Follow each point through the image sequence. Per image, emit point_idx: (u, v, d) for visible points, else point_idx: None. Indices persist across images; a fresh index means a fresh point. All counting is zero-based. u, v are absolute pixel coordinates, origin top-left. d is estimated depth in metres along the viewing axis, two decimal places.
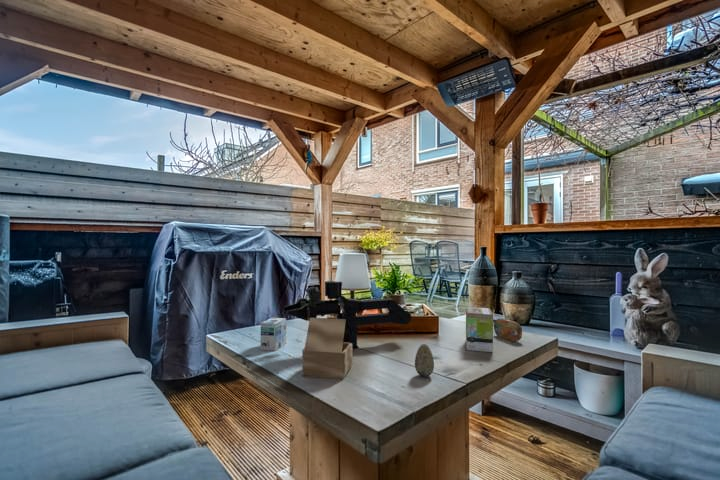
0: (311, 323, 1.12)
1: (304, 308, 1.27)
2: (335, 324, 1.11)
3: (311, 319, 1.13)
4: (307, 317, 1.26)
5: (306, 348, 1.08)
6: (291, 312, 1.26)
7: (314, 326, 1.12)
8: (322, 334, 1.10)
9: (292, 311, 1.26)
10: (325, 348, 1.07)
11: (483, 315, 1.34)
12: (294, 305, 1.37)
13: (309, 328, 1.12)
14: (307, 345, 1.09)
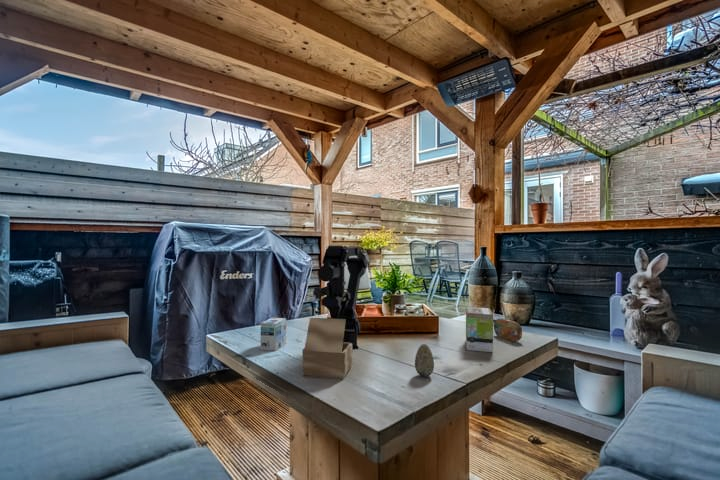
0: (311, 323, 1.12)
1: (328, 307, 1.23)
2: (335, 324, 1.11)
3: (311, 319, 1.13)
4: (335, 306, 1.21)
5: (306, 348, 1.08)
6: None
7: (314, 326, 1.12)
8: (322, 334, 1.10)
9: (332, 318, 1.24)
10: (325, 348, 1.07)
11: (483, 315, 1.34)
12: None
13: (309, 328, 1.12)
14: (307, 345, 1.09)
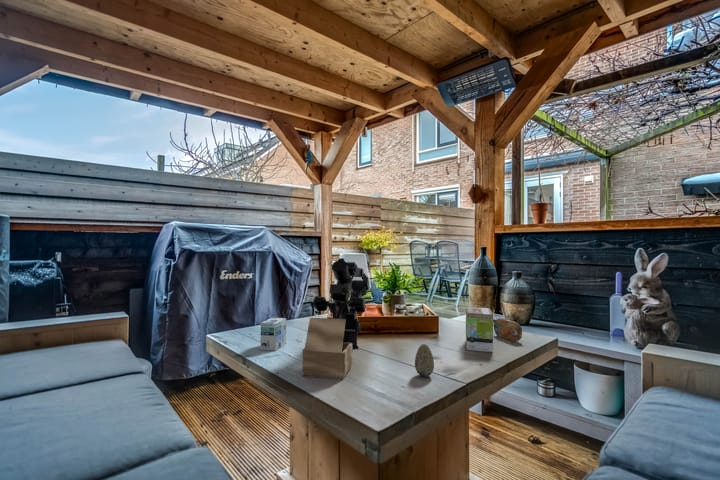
0: (311, 323, 1.12)
1: (343, 307, 1.24)
2: (335, 324, 1.11)
3: (311, 319, 1.13)
4: (349, 310, 1.26)
5: (306, 348, 1.08)
6: None
7: (314, 326, 1.12)
8: (322, 334, 1.10)
9: None
10: (325, 348, 1.07)
11: (483, 315, 1.34)
12: (335, 312, 1.24)
13: (309, 328, 1.12)
14: (307, 345, 1.09)
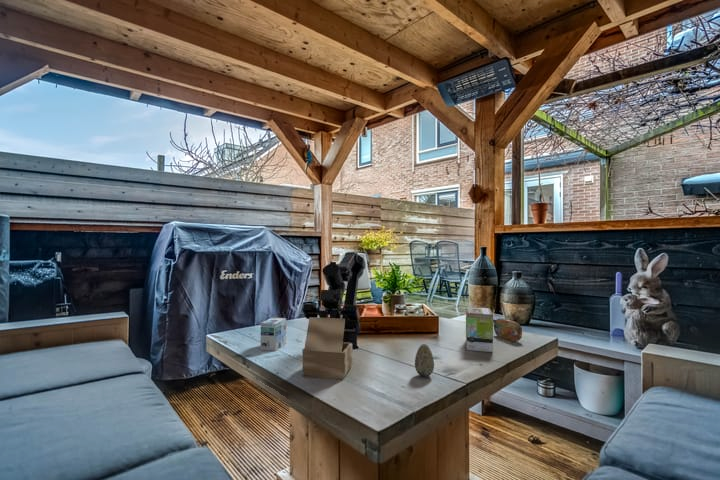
0: (310, 322, 1.12)
1: (335, 316, 1.13)
2: (334, 324, 1.10)
3: (310, 319, 1.13)
4: None
5: (306, 348, 1.08)
6: None
7: (314, 326, 1.11)
8: (322, 334, 1.10)
9: None
10: (325, 348, 1.07)
11: (483, 315, 1.34)
12: None
13: (308, 328, 1.11)
14: (307, 346, 1.09)
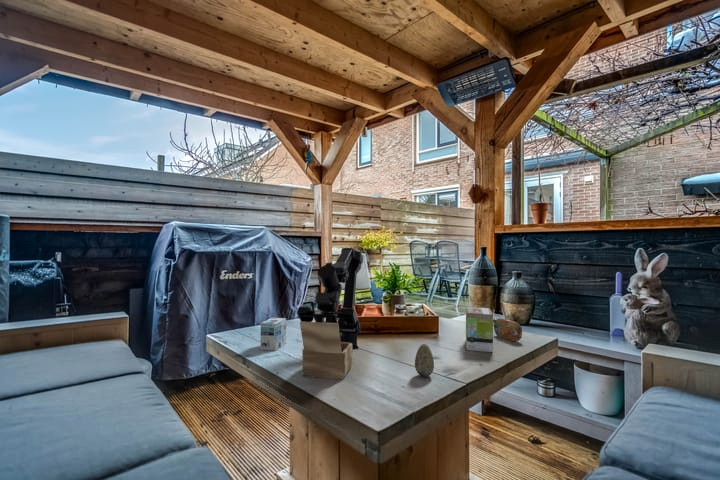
0: (303, 327, 1.05)
1: (331, 319, 1.08)
2: (328, 329, 1.04)
3: (301, 324, 1.05)
4: (337, 322, 1.11)
5: (305, 349, 1.08)
6: None
7: (307, 330, 1.05)
8: (317, 338, 1.05)
9: None
10: (324, 349, 1.06)
11: (483, 315, 1.34)
12: None
13: (302, 332, 1.06)
14: (306, 347, 1.08)
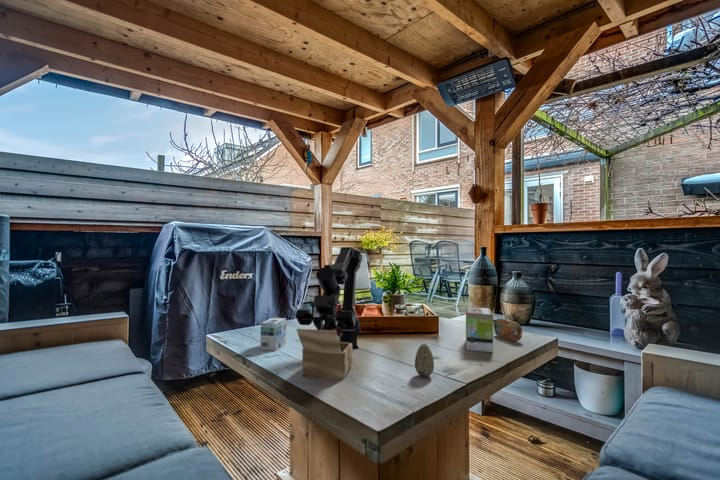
0: (300, 333, 1.03)
1: (329, 322, 1.07)
2: (326, 335, 1.01)
3: (298, 331, 1.02)
4: (336, 325, 1.10)
5: (305, 350, 1.08)
6: None
7: (305, 336, 1.03)
8: (316, 342, 1.04)
9: None
10: (324, 350, 1.06)
11: (483, 315, 1.34)
12: (320, 327, 1.07)
13: (300, 337, 1.04)
14: (305, 349, 1.07)
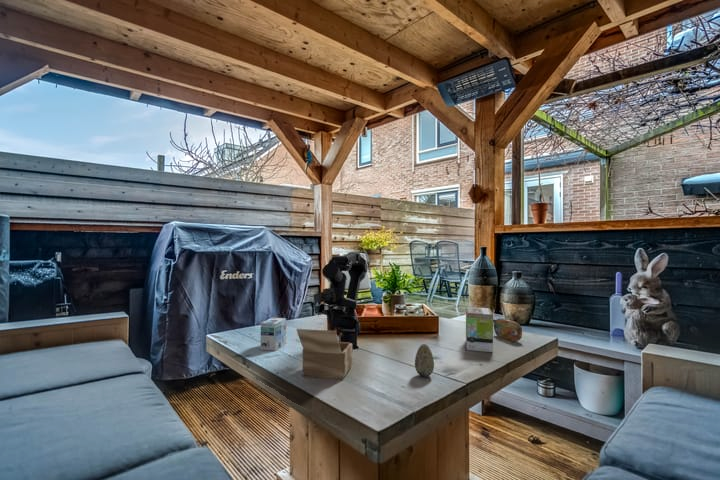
0: (300, 333, 1.03)
1: (334, 312, 1.20)
2: (326, 335, 1.01)
3: (298, 331, 1.02)
4: (343, 311, 1.21)
5: (305, 350, 1.08)
6: (333, 326, 1.20)
7: (305, 336, 1.03)
8: (316, 342, 1.04)
9: (332, 325, 1.19)
10: (324, 350, 1.06)
11: (483, 315, 1.34)
12: (330, 317, 1.21)
13: (300, 337, 1.04)
14: (305, 349, 1.07)
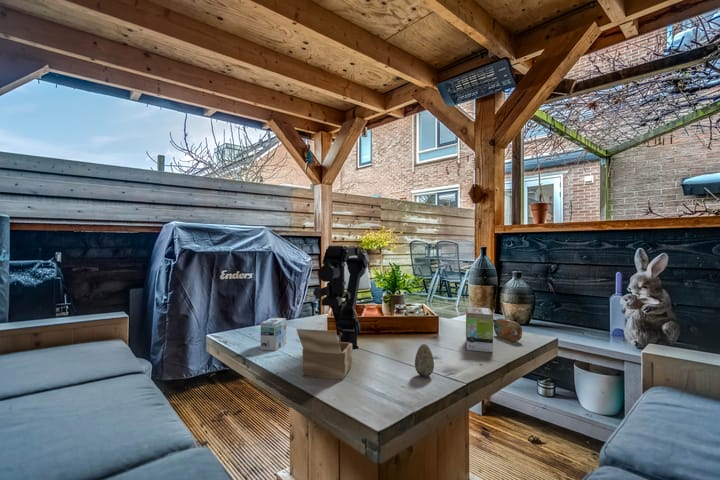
0: (300, 333, 1.03)
1: (331, 306, 1.26)
2: (326, 335, 1.01)
3: (298, 331, 1.02)
4: (338, 304, 1.24)
5: (305, 350, 1.08)
6: (336, 317, 1.27)
7: (305, 336, 1.03)
8: (316, 342, 1.04)
9: (335, 316, 1.27)
10: (324, 350, 1.06)
11: (483, 315, 1.34)
12: None
13: (300, 337, 1.04)
14: (305, 349, 1.07)
